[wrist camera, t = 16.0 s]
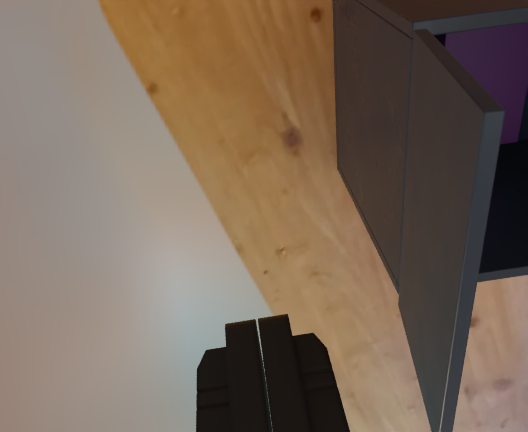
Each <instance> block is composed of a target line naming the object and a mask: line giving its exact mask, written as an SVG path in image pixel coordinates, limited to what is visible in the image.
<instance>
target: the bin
mask: <svg viewBox="0 0 528 432" xmlns="http://www.w3.org/2000/svg"><path fill="white" fill-rule="evenodd" d="M522 23H528V0H333V30H334V66H335V101H336V137H337V169H338V171H339V173H340V175H341V177H342V179H343V181H344V184H345V186H346V188H347V190H348V192H349V194H350V196H351V198H352V200H353V202H354V204H355V206H356V208H357V210H358V212H359V214H360V216H361V218H362V221H363V223H364V225H365V227H366V229H367V231H368V233H369V235H370V237H371V239H372V241H373V243H374V245H375V247H376V249H377V251H378V253H379V256H380V258H381V260H382V262H383V264H384V266H385V268H386V270H387V272H388V274H389V276H390V278H391V280H392V282H393V284H394V286H395V288H396V291H397V293H398V294H399V284H400V266H401V248H402V230H403V212H404V194H405V176H406V158H407V140H408V122H409V104H410V86H411V68H412V51H413V33H414V30H417V29H428V30H429V31H430V32H431V33H432V35H440V34H448V33H455V32H462V31H470V30H477V29H485V28H492V27H500V26H507V25H515V24H522ZM523 275H528V86H527V92H526V98H525V103H524V109H523V114H522V120H521V125H520V131H519V137H518V141H517V142H514V143H507V144H500V147H499V153H498V159H497V165H496V171H495V177H494V183H493V189H492V195H491V201H490V207H489V213H488V219H487V225H486V231H485V237H484V243H483V249H482V256H481V262H480V268H479V274H478V280H477V282H482V281H489V280H496V279H503V278H509V277H516V276H523Z"/></svg>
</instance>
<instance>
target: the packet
mask: <svg viewBox="0 0 528 432" xmlns="http://www.w3.org/2000/svg"><path fill="white" fill-rule="evenodd" d="M433 36H434V37H435V38H436V39H437V40H438V41H439V42H440V43H441V44H442V45H443V46H444V47H445V48H446V49H447V50H448V51H449V52H450V53H451V54H452V55H453V56H454V57H455V58H456V59H457V61H458V62H459V63H460V64H461V65H462V66H463V67H464V68H465V69H466V70H467V71H468V72H469V73H470V74H471V75H472V76H473V77H474V78H475V79H476V80H477V81H478V82H479V83H480V84H481V85H482V87H483V88H484V89H485V90H486V91H487V92H488V93H489V94H490V95H491V96H492V97H493V98H494V99H495V100H496V101H497V102H498V103H499V104H500V105H501V106H502V107H503V108H504V109H505V117H504V123H503V129H502V135H501V141H500V144H507V143H514V142H517V141H518V137H519V131H520V125H521V120H522V114H523V109H524V103H525V98H526V92H527V86H528V23H522V24H515V25H507V26H500V27H492V28H485V29H477V30H470V31H462V32H455V33H448V34H440V35H433Z"/></svg>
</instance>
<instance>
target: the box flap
mask: <svg viewBox="0 0 528 432" xmlns="http://www.w3.org/2000/svg"><path fill="white" fill-rule="evenodd" d="M504 117H505V109H504V108H503V107H502V106H501V105H500V104H499V103H498V102H497V101H496V100H495V99H494V98H493V97H492V96H491V95H490V94H489V93H488V92H487V91H486V90H485V89H484V88H483V87H482V85H481V84H480V83H479V82H478V81H477V80H476V79H475V78H474V77H473V76H472V75H471V74H470V73H469V72H468V71H467V70H466V69H465V68H464V67H463V66H462V65H461V64H460V63H459V62H458V61H457V59H456V58H455V57H454V56H453V55H452V54H451V53H450V52H449V51H448V50H447V49H446V48H445V47H444V46H443V45H442V44H441V43H440V42H439V41H438V40H437V39H436V38H435V37H434V36H433V35H432V33H431V32H430V31H429V30H428V29H417V30H414V33H413V51H412V68H411V86H410V104H409V122H408V140H407V158H406V176H405V194H404V212H403V230H402V248H401V266H400V284H399V302H398V306H399V309H400V313H401V317H402V321H403V325H404V328H405V332H406V336H407V340H408V344H409V347H410V351H411V355H412V359H413V363H414V366H415V370H416V374H417V378H418V382H419V385H420V389H421V393H422V397H423V401H424V404H425V408H426V412H427V416H428V420H429V423H430V427H431V431H432V432H452V431H453V425H454V418H455V412H456V406H457V400H458V394H459V388H460V382H461V376H462V370H463V364H464V358H465V352H466V346H467V340H468V334H469V328H470V322H471V316H472V310H473V304H474V298H475V292H476V286H477V280H478V274H479V268H480V262H481V256H482V249H483V243H484V237H485V231H486V225H487V219H488V213H489V207H490V201H491V195H492V189H493V183H494V177H495V171H496V165H497V159H498V153H499V147H500V141H501V135H502V129H503V123H504Z"/></svg>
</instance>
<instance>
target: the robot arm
mask: <svg viewBox="0 0 528 432" xmlns="http://www.w3.org/2000/svg"><path fill="white" fill-rule="evenodd" d="M258 324H259V331H260V339H261V347H262V354H263V361H262V356H261V349H260V343H259V337H258V331H257V326H256V320H255V319H254V320H247V321H242V322H235V323H228V324H225V333H226V347H223V348H216V349H210V350H206V351H205V353H204V355H203V358H202V360H201V362H200V364H199V366H198V368H197V411H196V413H197V414H196V415H197V416H196V432H272V429H273V432H350V430H349V427H348V423H347V419H346V416H345V412H344V408H343V405H342V401H341V398H340V394H339V390H338V387H337V383H336V380H335V376H334V372H333V370H332V365H331V362H330V358H329V354H328V351H327V348H326V347H325V346H324V344H323V343H322V342H321V341H320V340H319V339H318V338H317V336H316V335H315V334H314V333H309V334H302V335H296V336H292V332H291V327H290V322H289V318H288V314H284V315H278V316H272V317H266V318H260V319H258ZM263 362H264V367H263ZM264 369H265V373H264ZM265 377H266V380H265ZM266 384H267V387H266ZM267 392H268V394H267ZM268 399H269V402H268ZM269 407H270V410H269ZM270 414H271V417H270ZM271 422H272V425H271Z"/></svg>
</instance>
